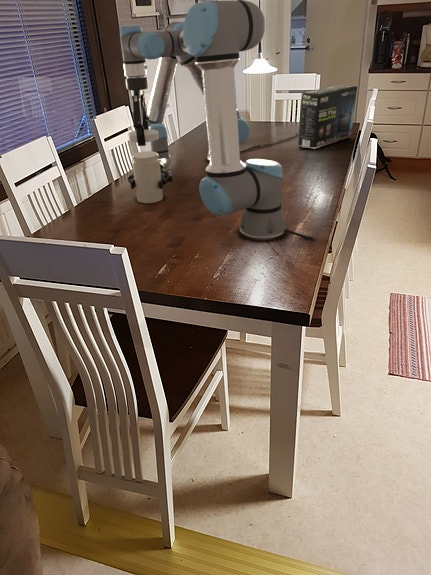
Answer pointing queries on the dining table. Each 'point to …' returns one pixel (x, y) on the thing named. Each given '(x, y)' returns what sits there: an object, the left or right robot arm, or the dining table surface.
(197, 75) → the left robot arm
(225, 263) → the dining table surface
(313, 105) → the router box
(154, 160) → the jar
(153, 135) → the lid
